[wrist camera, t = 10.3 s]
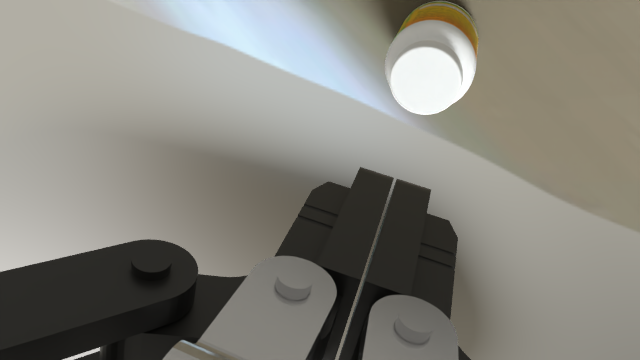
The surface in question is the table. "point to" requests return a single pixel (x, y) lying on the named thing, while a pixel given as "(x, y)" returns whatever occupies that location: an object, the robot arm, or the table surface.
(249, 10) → the table surface
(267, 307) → the robot arm
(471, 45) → the supplement bottle
